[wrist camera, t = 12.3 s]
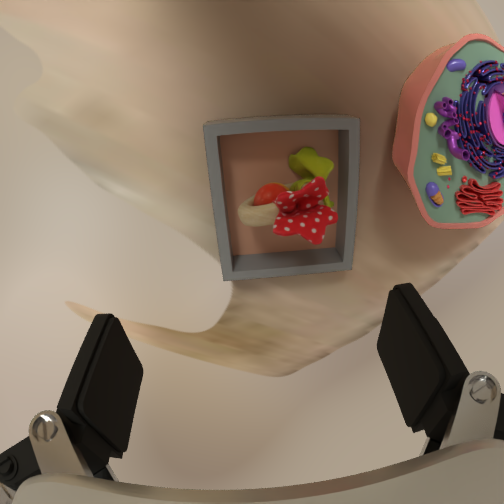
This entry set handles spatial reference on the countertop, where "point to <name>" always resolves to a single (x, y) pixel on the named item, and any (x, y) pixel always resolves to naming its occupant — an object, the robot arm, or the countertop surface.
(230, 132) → the grey picture frame
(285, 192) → the bird rattle
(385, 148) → the countertop surface
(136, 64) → the countertop surface
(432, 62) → the cell model
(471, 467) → the robot arm
